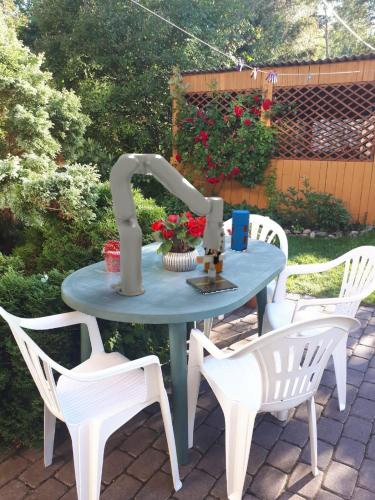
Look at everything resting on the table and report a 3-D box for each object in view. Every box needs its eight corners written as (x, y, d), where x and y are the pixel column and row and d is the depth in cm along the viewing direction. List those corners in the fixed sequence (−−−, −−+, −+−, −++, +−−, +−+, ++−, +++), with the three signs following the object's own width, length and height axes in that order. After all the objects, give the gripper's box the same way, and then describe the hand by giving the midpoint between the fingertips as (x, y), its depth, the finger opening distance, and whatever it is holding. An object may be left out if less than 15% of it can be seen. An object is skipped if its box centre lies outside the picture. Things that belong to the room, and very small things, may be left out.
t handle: (225, 267, 178) (225, 254, 176) (199, 271, 171) (199, 257, 169) (222, 266, 180) (222, 252, 178) (196, 270, 173) (196, 256, 171)
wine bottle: (223, 269, 203) (226, 214, 195) (220, 274, 194) (223, 217, 186) (206, 267, 205) (208, 213, 197) (202, 272, 196) (204, 216, 188)
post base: (203, 294, 166) (204, 278, 164) (186, 281, 182) (186, 266, 180) (237, 289, 174) (238, 273, 172) (217, 277, 189) (218, 262, 187)
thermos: (227, 248, 245) (229, 210, 238) (241, 247, 249) (243, 209, 242) (236, 252, 235) (238, 213, 228) (250, 251, 240) (253, 212, 233)
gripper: (233, 226, 167) (231, 265, 172) (205, 220, 178) (204, 257, 183) (223, 228, 162) (221, 268, 167) (195, 222, 173) (194, 260, 178)
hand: (212, 262), depth 175 cm, fingers closed on t handle, 3 cm apart
